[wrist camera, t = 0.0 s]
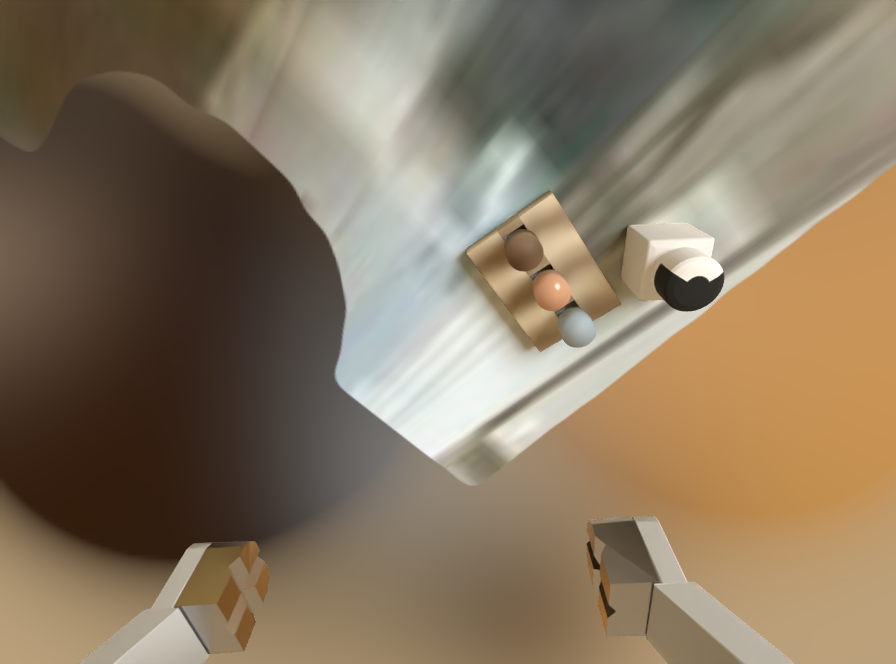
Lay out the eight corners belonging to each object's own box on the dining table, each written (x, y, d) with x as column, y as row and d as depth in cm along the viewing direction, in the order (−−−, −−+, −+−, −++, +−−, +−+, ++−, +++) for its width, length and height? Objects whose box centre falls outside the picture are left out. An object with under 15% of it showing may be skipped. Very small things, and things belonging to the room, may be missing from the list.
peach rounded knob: (523, 276, 56) (528, 291, 52) (551, 257, 55) (559, 271, 51) (540, 300, 58) (547, 317, 53) (568, 282, 57) (577, 298, 52)
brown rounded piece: (496, 237, 54) (499, 250, 50) (525, 217, 53) (531, 229, 49) (514, 263, 56) (519, 278, 51) (542, 244, 54) (550, 258, 50)
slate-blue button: (548, 311, 59) (555, 329, 54) (576, 294, 57) (585, 311, 53) (564, 333, 60) (572, 353, 56) (591, 317, 59) (602, 336, 54)
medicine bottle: (676, 277, 58) (724, 318, 47) (619, 279, 58) (655, 320, 48) (686, 221, 55) (741, 251, 44) (626, 224, 55) (666, 255, 44)
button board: (466, 248, 57) (466, 253, 55) (549, 190, 53) (552, 193, 52) (537, 344, 63) (540, 352, 61) (616, 297, 60) (621, 304, 58)
